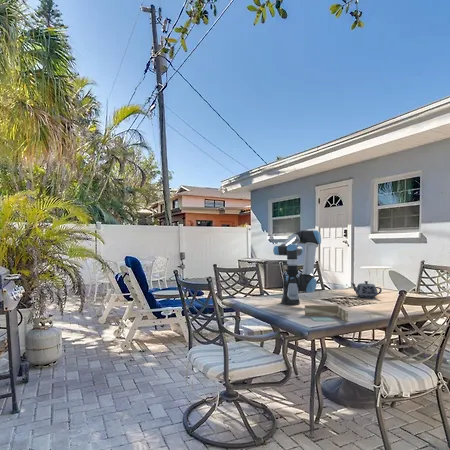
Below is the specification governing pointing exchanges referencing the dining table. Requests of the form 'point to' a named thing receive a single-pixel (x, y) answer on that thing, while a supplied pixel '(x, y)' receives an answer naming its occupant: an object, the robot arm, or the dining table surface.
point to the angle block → (293, 291)
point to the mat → (321, 319)
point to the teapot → (366, 290)
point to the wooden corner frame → (326, 311)
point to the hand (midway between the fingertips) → (292, 296)
